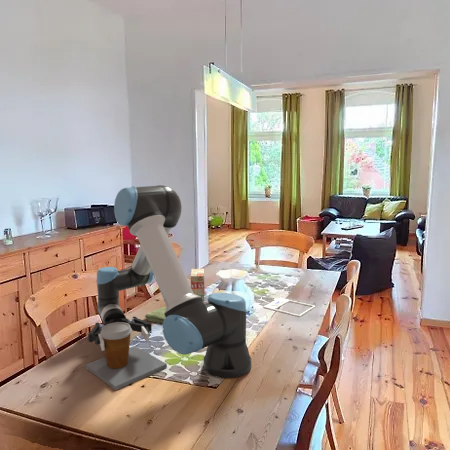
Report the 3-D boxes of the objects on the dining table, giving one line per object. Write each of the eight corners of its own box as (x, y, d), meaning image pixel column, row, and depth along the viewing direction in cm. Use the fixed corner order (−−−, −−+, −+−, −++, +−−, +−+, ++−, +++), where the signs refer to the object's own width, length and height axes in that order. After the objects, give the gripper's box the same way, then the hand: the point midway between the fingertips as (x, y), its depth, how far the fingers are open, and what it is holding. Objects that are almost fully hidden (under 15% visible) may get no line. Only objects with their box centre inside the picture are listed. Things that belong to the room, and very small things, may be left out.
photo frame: (280, 297, 190) (315, 305, 179) (280, 299, 190) (315, 307, 179) (263, 306, 178) (300, 315, 167) (263, 308, 179) (299, 317, 168)
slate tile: (166, 367, 127) (166, 363, 127) (115, 390, 115) (115, 386, 114) (135, 349, 140) (135, 345, 140) (85, 367, 127) (85, 364, 127)
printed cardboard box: (192, 287, 209) (191, 263, 207) (204, 286, 209) (203, 263, 207) (191, 301, 188) (190, 275, 186) (204, 301, 188) (204, 275, 186)
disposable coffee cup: (102, 373, 121) (101, 335, 119) (101, 359, 130) (99, 323, 128) (135, 368, 124) (133, 330, 123) (131, 355, 133) (129, 320, 132)
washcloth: (162, 310, 177) (161, 303, 177) (196, 317, 169) (196, 309, 169) (143, 321, 166) (142, 313, 165) (179, 328, 158) (179, 321, 157)
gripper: (148, 322, 149) (165, 345, 130) (76, 334, 139) (83, 362, 120) (147, 302, 148) (164, 323, 129) (75, 313, 137) (82, 338, 118)
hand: (125, 342), depth 124 cm, fingers open, 13 cm apart
